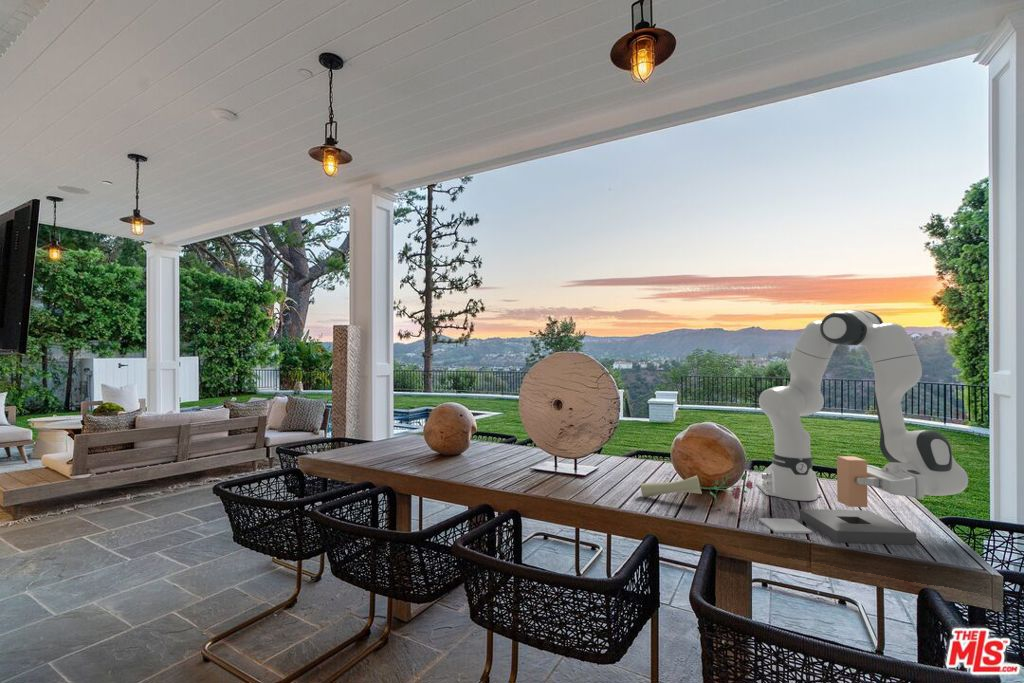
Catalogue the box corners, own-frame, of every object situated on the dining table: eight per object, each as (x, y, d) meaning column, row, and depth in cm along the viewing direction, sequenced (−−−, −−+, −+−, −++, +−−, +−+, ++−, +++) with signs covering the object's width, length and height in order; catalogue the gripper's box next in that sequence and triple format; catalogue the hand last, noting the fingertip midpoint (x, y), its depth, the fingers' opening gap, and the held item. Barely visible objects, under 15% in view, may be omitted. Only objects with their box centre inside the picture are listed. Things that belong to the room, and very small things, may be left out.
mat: (758, 520, 140) (758, 518, 140) (793, 520, 139) (793, 518, 139) (775, 532, 130) (775, 530, 130) (812, 533, 129) (812, 531, 129)
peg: (837, 501, 135) (836, 456, 135) (855, 501, 134) (854, 456, 135) (848, 506, 130) (848, 460, 130) (867, 507, 129) (866, 460, 130)
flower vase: (650, 516, 165) (759, 507, 151) (643, 516, 154) (758, 506, 141) (644, 482, 169) (749, 470, 155) (637, 479, 159) (748, 466, 145)
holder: (799, 518, 141) (799, 508, 141) (868, 520, 140) (868, 510, 140) (837, 542, 123) (836, 530, 123) (916, 544, 122) (916, 533, 122)
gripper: (873, 458, 142) (826, 457, 143) (928, 476, 121) (873, 475, 122) (873, 479, 142) (826, 478, 143) (929, 501, 121) (873, 499, 122)
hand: (848, 477), depth 132 cm, fingers closed on peg, 5 cm apart
